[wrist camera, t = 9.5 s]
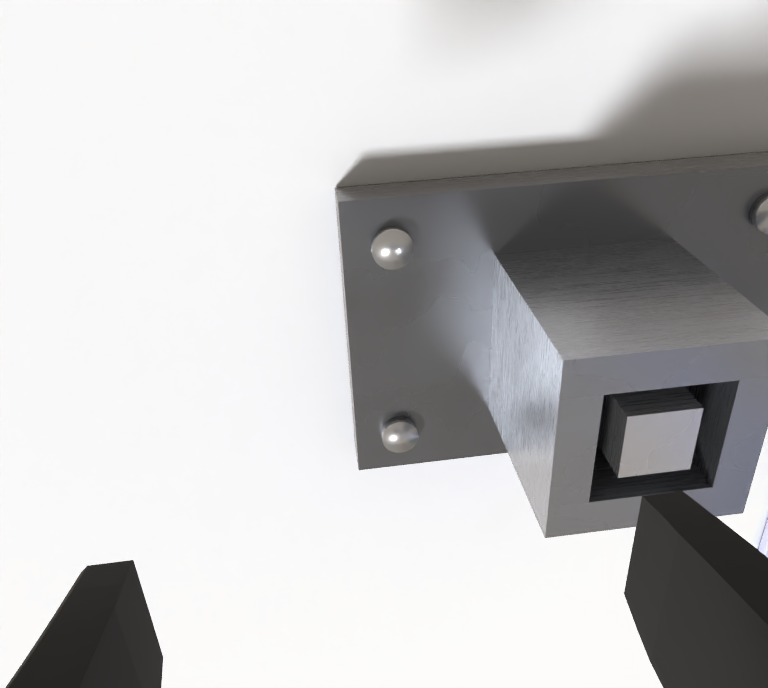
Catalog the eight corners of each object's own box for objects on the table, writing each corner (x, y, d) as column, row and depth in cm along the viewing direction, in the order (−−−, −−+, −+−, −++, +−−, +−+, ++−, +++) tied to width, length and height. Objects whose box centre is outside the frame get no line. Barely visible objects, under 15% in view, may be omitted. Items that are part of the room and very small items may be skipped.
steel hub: (672, 238, 18) (792, 336, 14) (646, 389, 21) (742, 512, 17) (494, 254, 18) (563, 360, 14) (487, 407, 20) (545, 537, 16)
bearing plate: (801, 148, 19) (1000, 237, 14) (738, 403, 23) (872, 545, 18) (334, 187, 18) (359, 299, 13) (355, 448, 22) (380, 612, 17)
